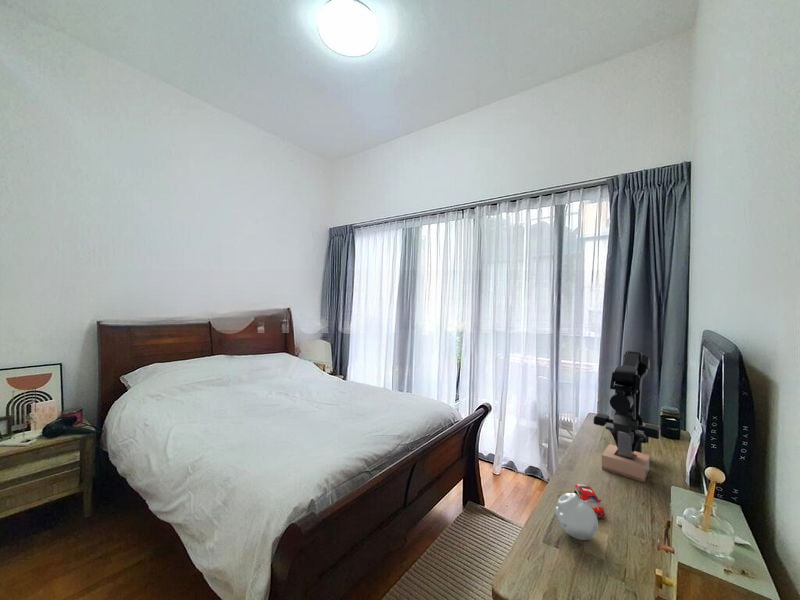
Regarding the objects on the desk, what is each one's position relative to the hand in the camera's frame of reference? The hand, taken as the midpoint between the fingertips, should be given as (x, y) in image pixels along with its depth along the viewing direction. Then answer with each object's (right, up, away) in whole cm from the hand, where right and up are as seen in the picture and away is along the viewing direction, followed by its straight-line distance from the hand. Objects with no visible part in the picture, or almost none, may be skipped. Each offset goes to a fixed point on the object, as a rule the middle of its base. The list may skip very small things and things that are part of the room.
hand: (625, 449), depth 111 cm
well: (0, -7, 0) cm, 7 cm away
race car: (-25, -7, -20) cm, 33 cm away
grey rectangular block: (0, -4, 0) cm, 4 cm away
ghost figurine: (-36, -6, -32) cm, 49 cm away
